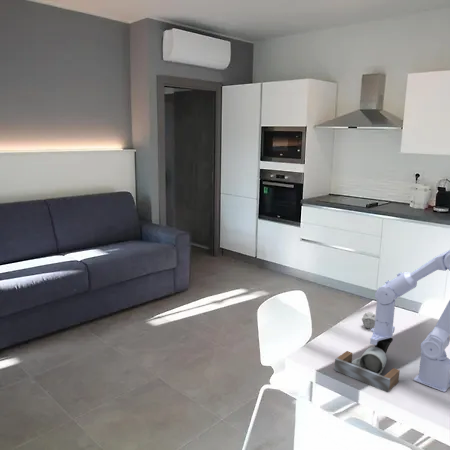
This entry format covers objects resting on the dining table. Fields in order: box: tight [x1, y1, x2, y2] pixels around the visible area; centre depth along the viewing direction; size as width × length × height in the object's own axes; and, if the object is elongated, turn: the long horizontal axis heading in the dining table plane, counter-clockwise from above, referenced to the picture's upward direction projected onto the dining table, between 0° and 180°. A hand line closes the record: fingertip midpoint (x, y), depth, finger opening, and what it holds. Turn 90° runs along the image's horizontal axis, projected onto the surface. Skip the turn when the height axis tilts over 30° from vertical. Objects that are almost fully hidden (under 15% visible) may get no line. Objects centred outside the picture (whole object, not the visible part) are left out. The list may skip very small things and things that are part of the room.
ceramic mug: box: [352, 346, 388, 375], centre depth 145 cm, size 11×8×8 cm
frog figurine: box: [361, 311, 376, 329], centre depth 177 cm, size 6×7×7 cm
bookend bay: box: [334, 350, 400, 393], centre depth 141 cm, size 18×8×4 cm, turn 47°
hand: (380, 357), depth 149 cm, fingers closed
